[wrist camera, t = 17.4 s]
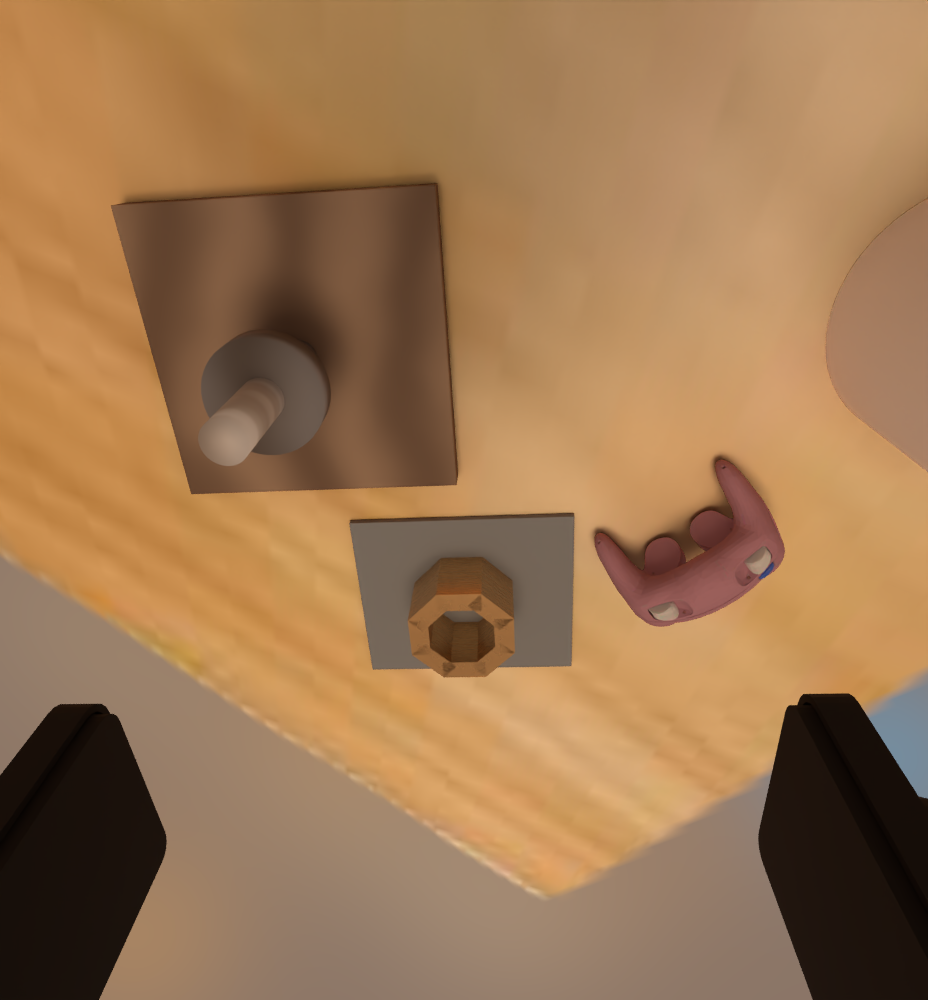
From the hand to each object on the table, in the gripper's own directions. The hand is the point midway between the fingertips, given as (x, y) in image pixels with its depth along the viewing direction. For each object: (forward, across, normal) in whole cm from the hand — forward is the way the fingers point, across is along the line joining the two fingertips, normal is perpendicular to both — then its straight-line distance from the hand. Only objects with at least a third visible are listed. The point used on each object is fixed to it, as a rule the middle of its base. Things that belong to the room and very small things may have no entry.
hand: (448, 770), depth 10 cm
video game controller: (+31, -12, +14) cm, 36 cm away
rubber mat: (+30, +2, +19) cm, 36 cm away
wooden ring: (+30, +2, +19) cm, 35 cm away
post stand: (+30, +10, +2) cm, 32 cm away
